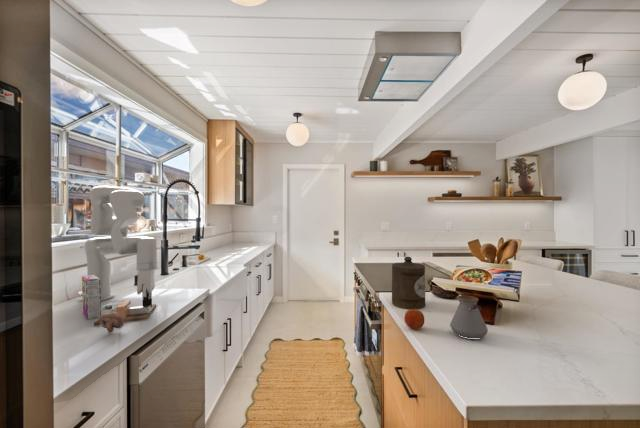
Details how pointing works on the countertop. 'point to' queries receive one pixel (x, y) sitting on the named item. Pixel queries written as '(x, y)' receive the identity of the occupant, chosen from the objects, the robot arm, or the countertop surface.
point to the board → (134, 316)
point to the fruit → (414, 319)
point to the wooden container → (408, 284)
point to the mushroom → (111, 321)
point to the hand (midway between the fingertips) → (147, 308)
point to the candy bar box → (91, 296)
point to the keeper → (123, 308)
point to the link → (128, 310)
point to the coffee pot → (468, 318)
